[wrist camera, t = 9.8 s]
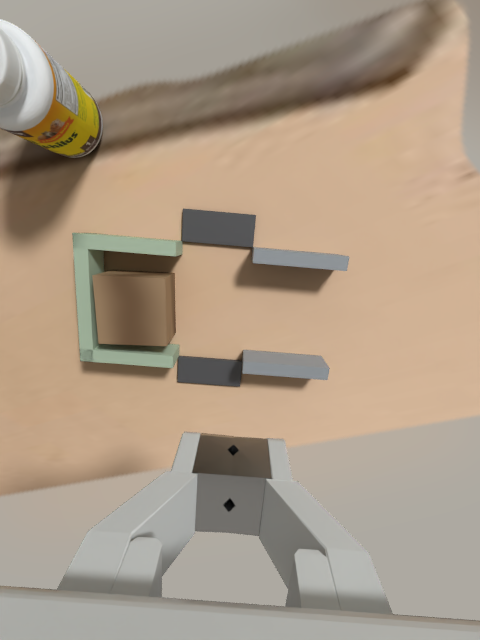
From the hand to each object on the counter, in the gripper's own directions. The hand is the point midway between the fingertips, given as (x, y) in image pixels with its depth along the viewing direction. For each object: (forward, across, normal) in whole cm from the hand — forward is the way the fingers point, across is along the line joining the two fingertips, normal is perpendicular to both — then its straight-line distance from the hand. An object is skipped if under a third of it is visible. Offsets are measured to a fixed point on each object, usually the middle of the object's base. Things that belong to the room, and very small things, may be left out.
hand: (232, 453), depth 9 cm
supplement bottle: (+21, +15, -14) cm, 30 cm away
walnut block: (+21, +9, +1) cm, 23 cm away
